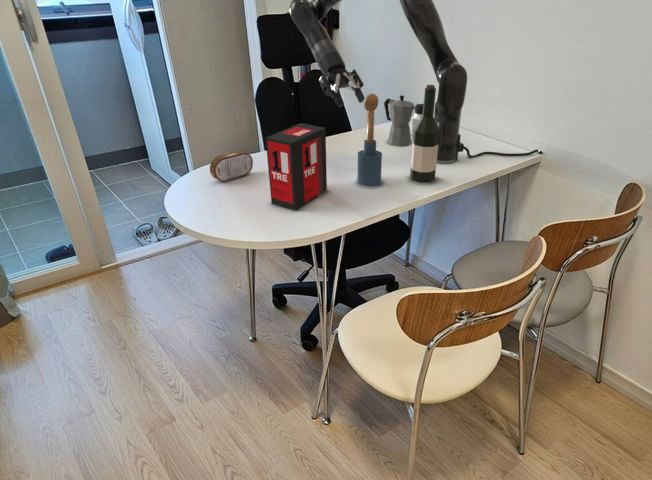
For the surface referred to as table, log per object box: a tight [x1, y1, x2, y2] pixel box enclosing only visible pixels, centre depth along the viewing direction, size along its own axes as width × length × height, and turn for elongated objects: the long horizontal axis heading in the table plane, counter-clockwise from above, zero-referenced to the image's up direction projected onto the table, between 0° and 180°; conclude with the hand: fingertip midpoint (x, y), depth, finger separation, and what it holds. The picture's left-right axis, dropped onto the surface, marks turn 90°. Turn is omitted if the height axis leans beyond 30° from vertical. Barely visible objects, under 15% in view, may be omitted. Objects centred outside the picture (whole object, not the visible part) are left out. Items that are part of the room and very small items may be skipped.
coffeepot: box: [383, 94, 416, 147], centre depth 192 cm, size 15×9×18 cm, turn 44°
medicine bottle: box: [410, 102, 424, 137], centre depth 203 cm, size 7×7×12 cm
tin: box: [209, 149, 254, 182], centre depth 162 cm, size 15×3×8 cm, turn 135°
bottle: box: [356, 139, 383, 187], centre depth 158 cm, size 8×8×14 cm
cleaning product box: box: [265, 122, 328, 211], centre depth 146 cm, size 16×9×20 cm, turn 150°
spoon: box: [363, 93, 379, 143], centre depth 154 cm, size 2×5×28 cm, turn 132°
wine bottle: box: [409, 84, 440, 184], centre depth 156 cm, size 8×8×30 cm
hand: (352, 103), depth 154 cm, fingers open, 8 cm apart
